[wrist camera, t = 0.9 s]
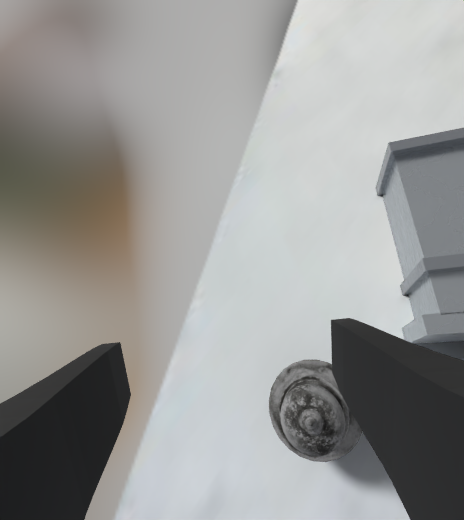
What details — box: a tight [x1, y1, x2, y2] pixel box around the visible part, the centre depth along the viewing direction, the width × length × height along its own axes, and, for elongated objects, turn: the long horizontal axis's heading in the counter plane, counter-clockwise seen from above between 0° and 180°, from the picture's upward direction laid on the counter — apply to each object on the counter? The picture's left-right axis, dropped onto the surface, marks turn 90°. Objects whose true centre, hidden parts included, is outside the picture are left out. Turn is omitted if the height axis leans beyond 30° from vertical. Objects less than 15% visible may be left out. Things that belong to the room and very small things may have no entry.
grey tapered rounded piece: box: [269, 360, 362, 462], centre depth 17 cm, size 6×6×12 cm
